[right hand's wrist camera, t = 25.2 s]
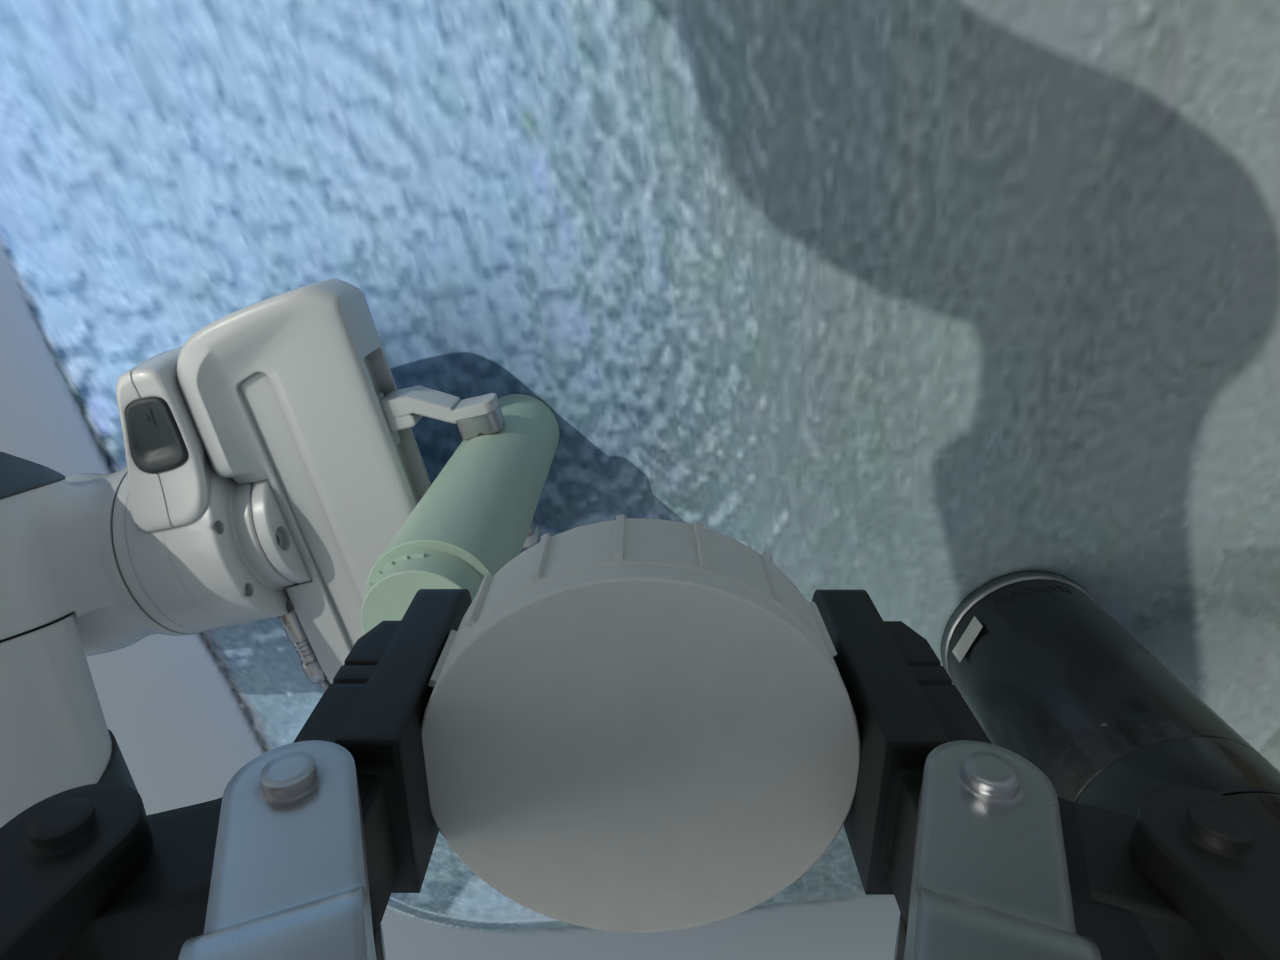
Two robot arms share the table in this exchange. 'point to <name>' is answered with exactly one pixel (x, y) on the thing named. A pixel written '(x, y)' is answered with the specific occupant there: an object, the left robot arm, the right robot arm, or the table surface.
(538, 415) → the pale green tall cylinder
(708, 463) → the table surface
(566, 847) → the lid
